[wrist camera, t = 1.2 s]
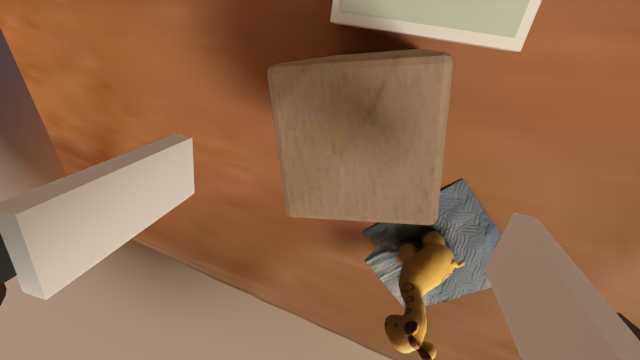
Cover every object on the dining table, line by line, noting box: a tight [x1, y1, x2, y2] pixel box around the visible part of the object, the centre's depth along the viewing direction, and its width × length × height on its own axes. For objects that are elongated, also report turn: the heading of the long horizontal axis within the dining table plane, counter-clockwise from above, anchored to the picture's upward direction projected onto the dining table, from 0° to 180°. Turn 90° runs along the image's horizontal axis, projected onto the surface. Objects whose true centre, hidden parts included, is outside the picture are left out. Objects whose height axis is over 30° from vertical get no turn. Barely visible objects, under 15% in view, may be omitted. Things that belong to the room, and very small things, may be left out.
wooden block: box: [267, 49, 453, 225], centre depth 26 cm, size 10×10×20 cm
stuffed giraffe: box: [360, 179, 502, 360], centre depth 35 cm, size 16×18×16 cm
